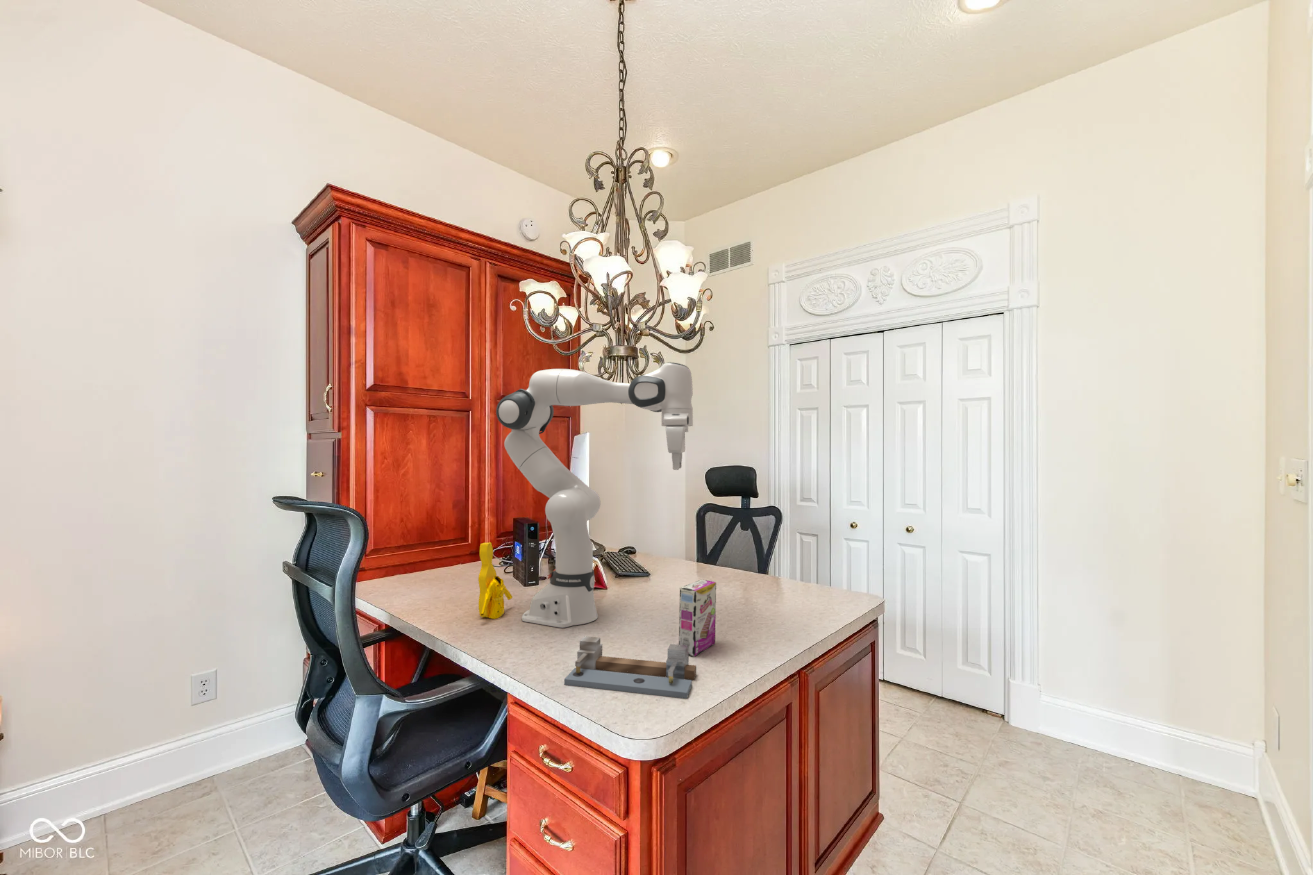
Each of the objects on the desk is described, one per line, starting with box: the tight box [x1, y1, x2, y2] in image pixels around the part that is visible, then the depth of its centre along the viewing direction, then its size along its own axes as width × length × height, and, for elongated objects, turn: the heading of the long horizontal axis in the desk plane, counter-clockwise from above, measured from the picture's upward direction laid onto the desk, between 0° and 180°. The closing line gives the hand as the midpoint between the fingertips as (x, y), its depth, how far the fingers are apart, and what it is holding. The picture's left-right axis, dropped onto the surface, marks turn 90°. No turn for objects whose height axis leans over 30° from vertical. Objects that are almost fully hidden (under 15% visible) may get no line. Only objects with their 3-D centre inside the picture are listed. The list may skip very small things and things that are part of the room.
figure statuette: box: [477, 542, 514, 620], centre depth 163 cm, size 18×8×22 cm, turn 167°
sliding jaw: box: [665, 643, 690, 683], centre depth 118 cm, size 4×11×6 cm, turn 167°
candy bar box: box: [678, 579, 717, 657], centre depth 137 cm, size 11×5×16 cm, turn 146°
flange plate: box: [563, 667, 693, 700], centre depth 116 cm, size 27×6×1 cm, turn 77°
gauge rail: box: [574, 635, 697, 681], centre depth 121 cm, size 27×11×6 cm, turn 77°
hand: (677, 469), depth 151 cm, fingers open, 8 cm apart
